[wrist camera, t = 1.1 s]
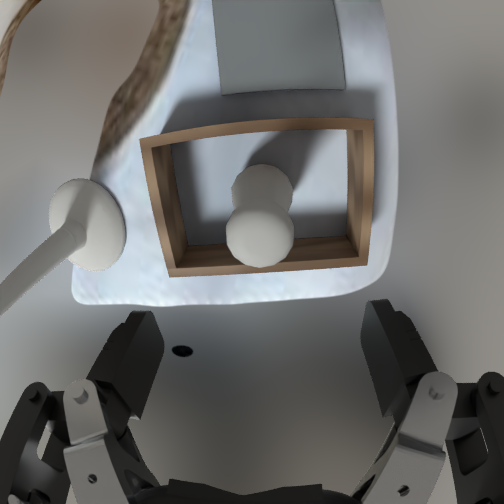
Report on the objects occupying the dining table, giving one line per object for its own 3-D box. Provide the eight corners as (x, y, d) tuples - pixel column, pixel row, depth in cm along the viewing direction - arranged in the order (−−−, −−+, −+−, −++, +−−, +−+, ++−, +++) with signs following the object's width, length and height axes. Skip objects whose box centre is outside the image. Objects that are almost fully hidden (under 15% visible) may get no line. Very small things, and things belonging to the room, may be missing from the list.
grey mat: (212, -3, 18) (211, -5, 17) (329, -8, 17) (330, -10, 16) (222, 95, 23) (221, 94, 23) (343, 90, 22) (345, 89, 22)
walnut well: (159, 134, 25) (139, 139, 21) (355, 118, 24) (373, 119, 19) (181, 254, 32) (169, 277, 27) (353, 243, 30) (367, 265, 25)
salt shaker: (296, 168, 26) (322, 208, 15) (282, 219, 29) (294, 291, 18) (240, 155, 26) (219, 185, 15) (229, 207, 29) (205, 272, 17)
